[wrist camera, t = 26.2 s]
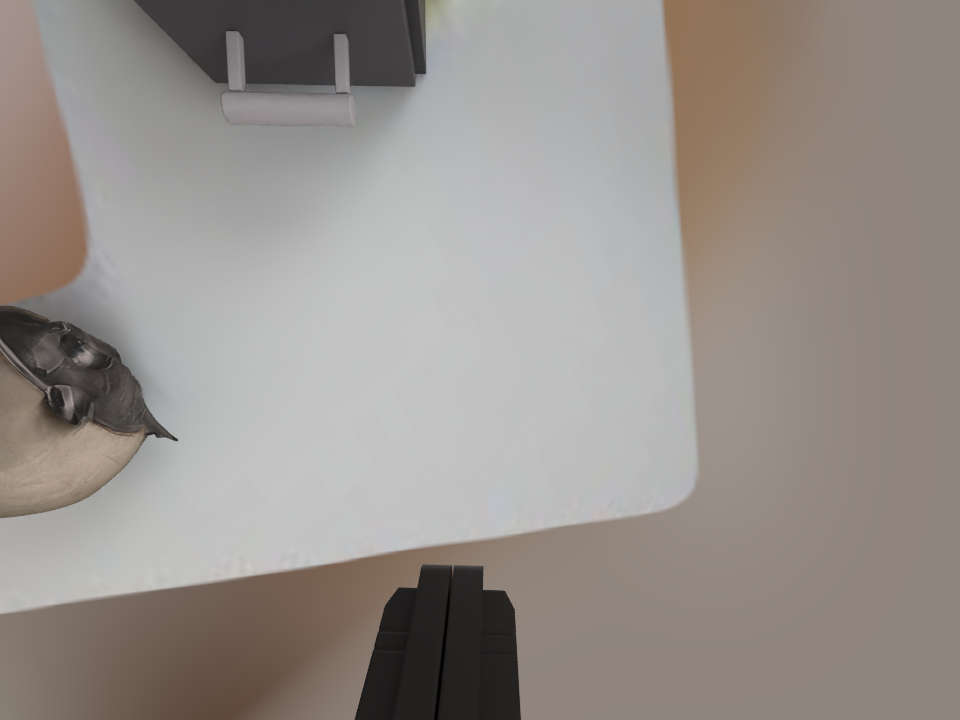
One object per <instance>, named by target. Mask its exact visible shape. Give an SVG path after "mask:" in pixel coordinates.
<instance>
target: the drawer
mask: <svg viewBox="0 0 960 720" xmlns="http://www.w3.org/2000/svg"><path fill="white" fill-rule="evenodd" d="M134 1H135V2H136V3H137V4H138V5H139V6H140V7H141V8H142V9H143V10H144V11H145V12H146V13H147V14H148V15H149V16H150V17H151V18H152V19H153V20H154V21H155V22H156V23H157V24H158V25H159V26H160V27H161V28H162V29H163V30H164V31H165V32H166V33H167V34H168V35H169V36H170V37H171V38H172V39H173V40H174V41H175V42H176V43H177V44H178V45H179V46H180V47H181V48H182V49H183V50H184V51H185V52H186V53H187V54H188V55H189V56H190V57H191V58H192V59H193V60H194V61H195V62H196V63H197V64H198V65H199V66H200V67H201V68H202V69H203V70H204V71H205V72H206V73H207V74H208V75H209V76H210V77H211V78H212V80H213V81H214V82H216V83H228V85H229V91H230V92H223V93H222V96H221V105H222V110H223V113H224V116H225V118H226V120H227V121H228V122H229V123H230V124H232V125H282V126H348V127H354V126H356V121H357V115H356V106H355V101H354V98H353V95H352V94H350V85H355V86H404V87H415V63H414V56H413V49H412V43H411V36H410V29H409V23H408V16H407V9H406V3H405V0H134ZM246 83H256V84H305V85H335V91H336V93H337V94H327V93H275V92H246Z"/></svg>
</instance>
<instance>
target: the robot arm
mask: <svg viewBox="0 0 960 720" xmlns="http://www.w3.org/2000/svg"><path fill="white" fill-rule="evenodd" d="M355 720H521V716H520V697H519V679H518V662H517V643H516V626H515V609H514V608H513V606H512V604H511V602H510V600H509V598H508V596H507V594H506V592H505V591H497V590H483V566H463V565H461V566H460V565H455V566H454V570H453V579H452V565H426V564H423V565H422V567H421V572H420V577H419V582H418V587H417V588H398V589H397V591H396V592H395V593H394V594H393V596H392V597H391V598H390V600H389V601H388V602H387V604H386V605H385V608H384V612H383V615H382V619H381V623H380V627H379V632H378V634H377V638H376V642H375V647H374V650H373V653H372V657H371V660H370V665H369V668H368V672H367V675H366V679H365V683H364V687H363V690H362V694H361V698H360V702H359V706H358V709H357V713H356V717H355Z"/></svg>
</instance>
